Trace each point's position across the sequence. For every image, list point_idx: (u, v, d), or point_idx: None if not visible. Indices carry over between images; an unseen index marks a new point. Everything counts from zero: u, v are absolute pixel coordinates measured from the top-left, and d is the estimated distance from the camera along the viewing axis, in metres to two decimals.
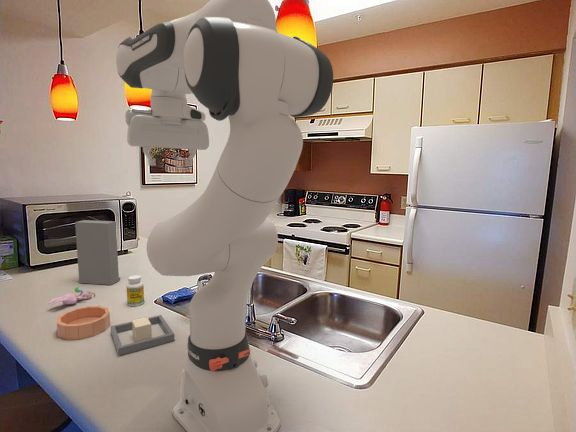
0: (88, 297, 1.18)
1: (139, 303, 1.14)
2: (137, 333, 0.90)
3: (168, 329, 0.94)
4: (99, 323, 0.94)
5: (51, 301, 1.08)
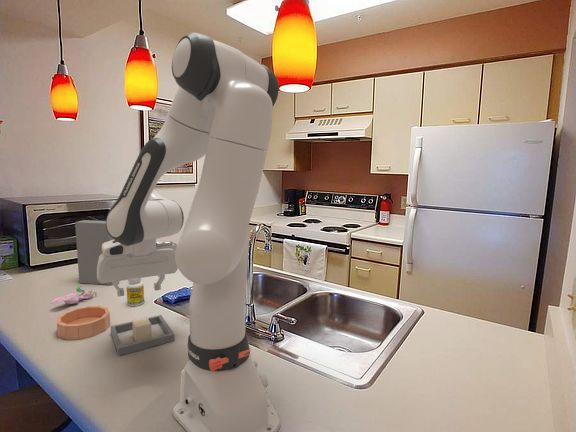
0: (90, 297, 1.18)
1: (139, 303, 1.14)
2: (137, 333, 0.90)
3: (168, 329, 0.94)
4: (99, 323, 0.94)
5: (53, 301, 1.08)
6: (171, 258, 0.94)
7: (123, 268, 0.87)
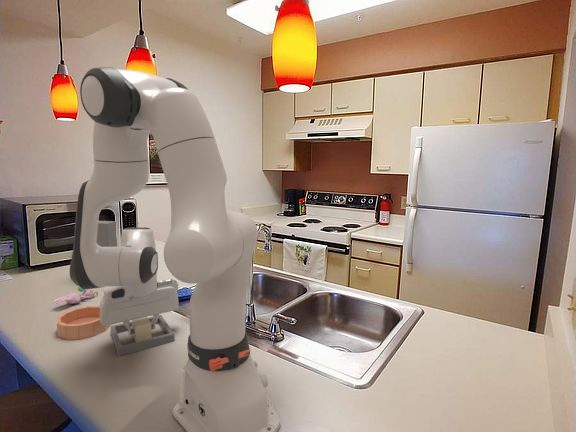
0: (91, 296, 1.18)
1: None
2: (137, 333, 0.90)
3: (168, 329, 0.94)
4: (99, 323, 0.94)
5: (55, 300, 1.09)
6: (172, 296, 0.95)
7: (125, 310, 0.88)
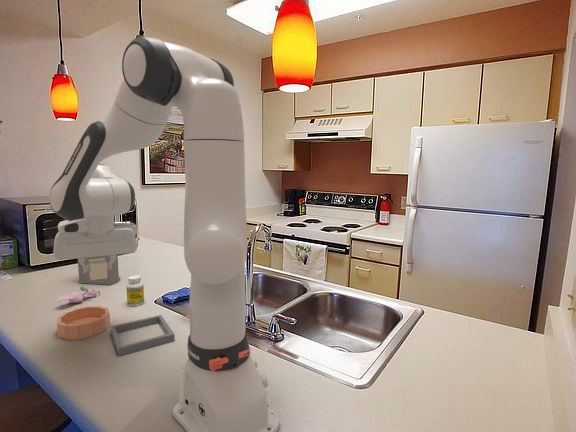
0: (93, 295, 1.19)
1: (139, 303, 1.14)
2: (92, 270, 0.91)
3: (168, 329, 0.94)
4: (99, 323, 0.94)
5: (58, 299, 1.09)
6: (129, 237, 0.96)
7: (79, 246, 0.89)
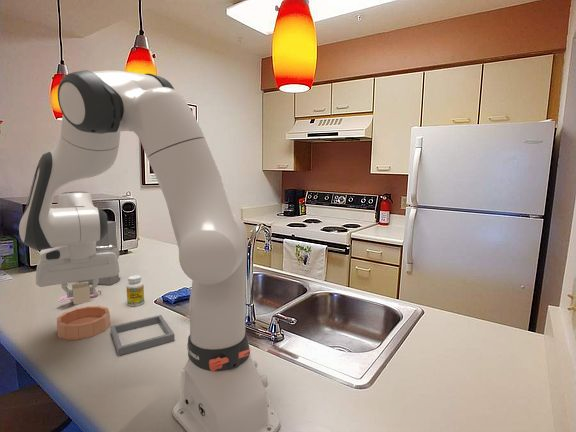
0: (95, 295, 1.20)
1: (139, 303, 1.14)
2: (75, 295, 0.93)
3: (168, 329, 0.94)
4: (99, 323, 0.94)
5: (60, 299, 1.10)
6: (112, 261, 0.98)
7: (62, 272, 0.91)
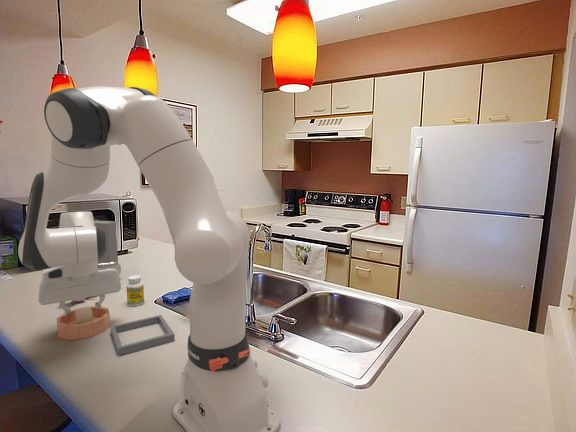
0: None
1: (139, 303, 1.14)
2: (78, 321, 0.94)
3: (168, 329, 0.94)
4: (99, 323, 0.94)
5: None
6: (113, 278, 0.98)
7: (64, 290, 0.92)
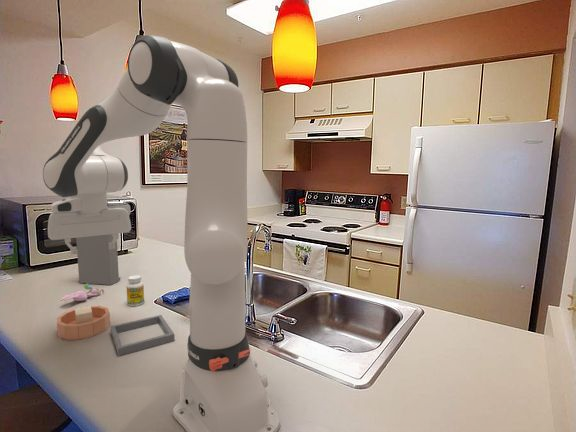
0: (97, 294, 1.21)
1: (139, 303, 1.14)
2: (78, 321, 0.94)
3: (168, 329, 0.94)
4: (99, 323, 0.94)
5: (63, 298, 1.11)
6: (123, 217, 0.96)
7: (73, 226, 0.89)
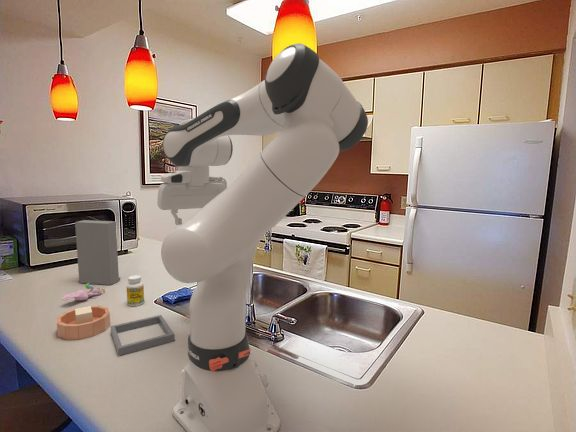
0: (98, 293, 1.21)
1: (139, 303, 1.14)
2: (78, 321, 0.94)
3: (168, 329, 0.94)
4: (99, 323, 0.94)
5: (64, 297, 1.11)
6: (222, 192, 1.01)
7: (181, 197, 0.94)
